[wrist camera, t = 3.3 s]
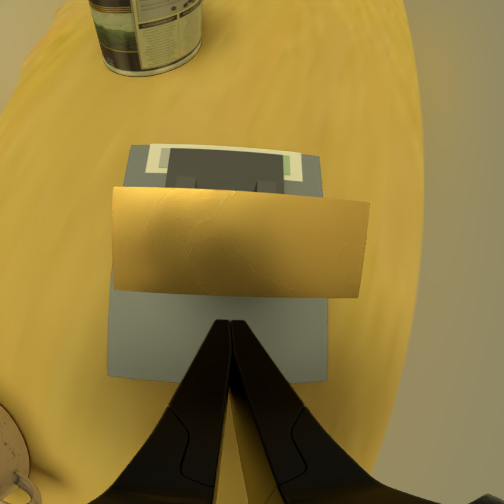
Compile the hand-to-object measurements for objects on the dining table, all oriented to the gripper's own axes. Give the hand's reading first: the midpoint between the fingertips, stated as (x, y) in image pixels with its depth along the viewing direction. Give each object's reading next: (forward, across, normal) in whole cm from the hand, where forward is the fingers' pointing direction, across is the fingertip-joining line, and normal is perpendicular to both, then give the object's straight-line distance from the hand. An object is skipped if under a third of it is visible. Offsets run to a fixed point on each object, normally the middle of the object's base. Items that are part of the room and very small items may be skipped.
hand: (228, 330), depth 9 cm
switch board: (+12, 0, +5) cm, 13 cm away
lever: (+10, 0, +1) cm, 10 cm away
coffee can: (+27, +8, -10) cm, 30 cm away
